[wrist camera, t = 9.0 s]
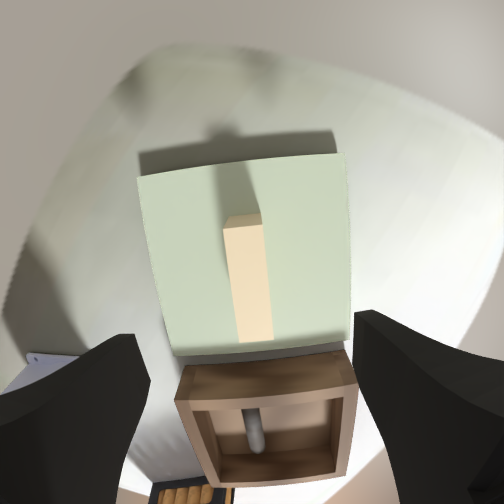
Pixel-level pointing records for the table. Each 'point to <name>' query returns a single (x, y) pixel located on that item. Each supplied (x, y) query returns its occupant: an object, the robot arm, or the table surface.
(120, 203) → the table surface
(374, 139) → the table surface
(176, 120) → the table surface
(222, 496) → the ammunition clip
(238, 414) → the wooden open box
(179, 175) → the lid
